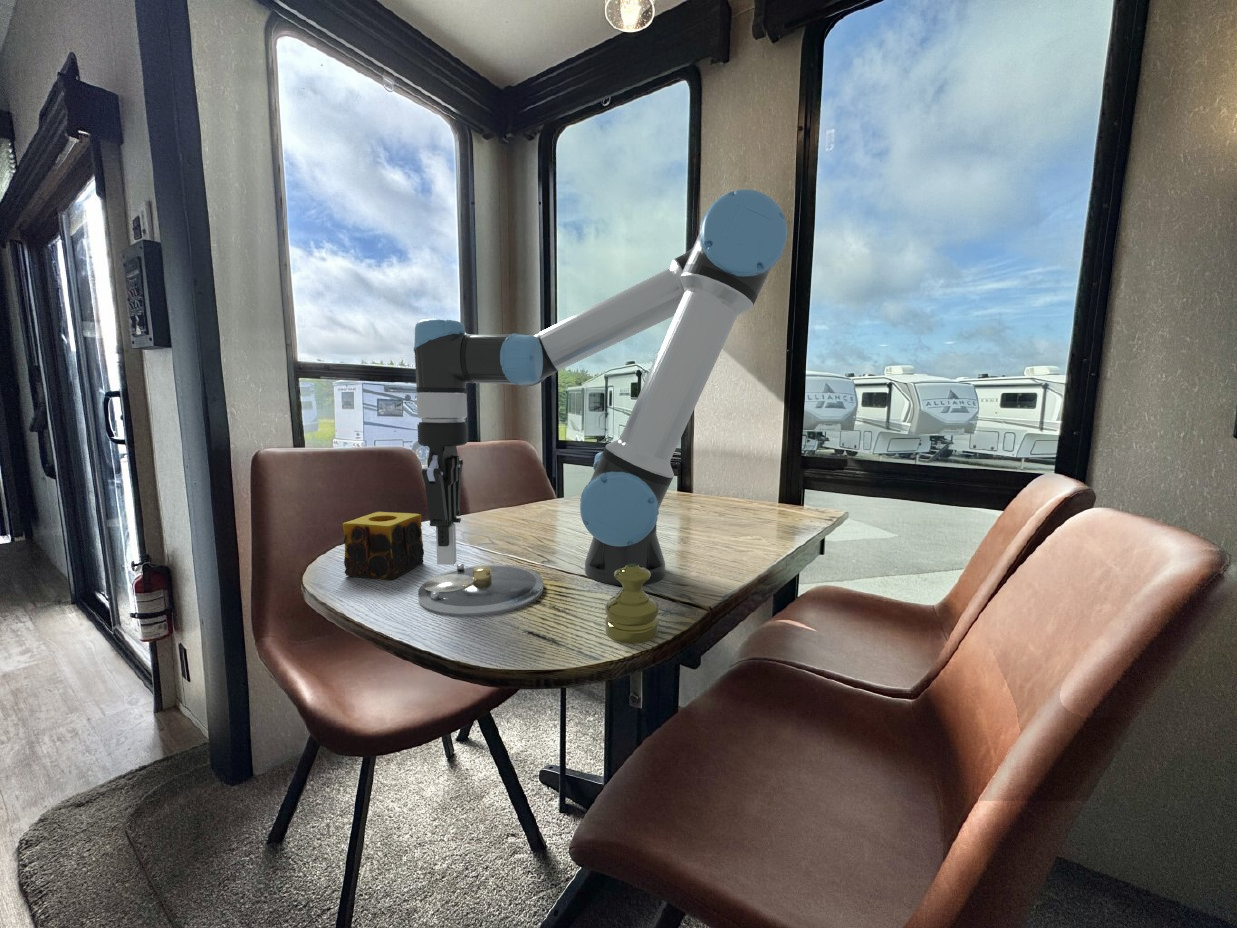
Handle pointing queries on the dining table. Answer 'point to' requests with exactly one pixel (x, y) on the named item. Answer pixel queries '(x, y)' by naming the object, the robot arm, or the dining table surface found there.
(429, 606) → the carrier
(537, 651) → the dining table surface
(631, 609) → the gold pawn
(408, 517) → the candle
